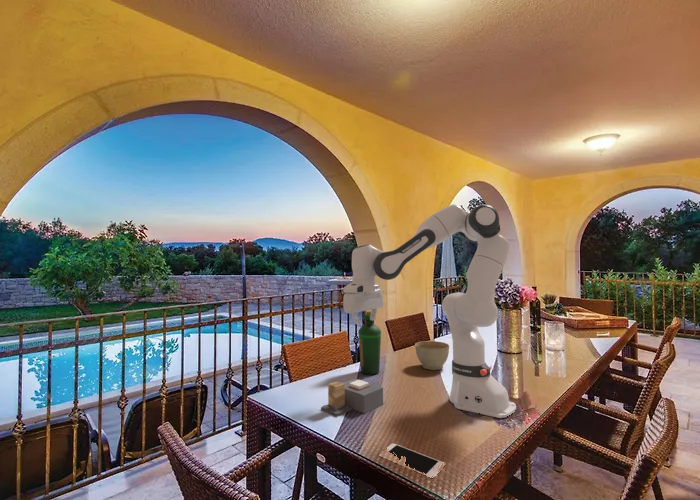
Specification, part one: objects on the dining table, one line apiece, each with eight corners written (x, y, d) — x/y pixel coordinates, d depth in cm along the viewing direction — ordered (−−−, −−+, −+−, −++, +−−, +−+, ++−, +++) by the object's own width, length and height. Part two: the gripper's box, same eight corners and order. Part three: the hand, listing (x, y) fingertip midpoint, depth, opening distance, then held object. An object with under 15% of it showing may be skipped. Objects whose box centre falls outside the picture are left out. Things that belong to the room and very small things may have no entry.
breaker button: (369, 396, 126) (368, 382, 126) (359, 400, 123) (359, 386, 123) (358, 393, 130) (358, 379, 130) (349, 397, 126) (349, 383, 126)
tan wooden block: (344, 407, 121) (344, 384, 121) (336, 411, 118) (336, 387, 118) (336, 404, 124) (336, 381, 124) (328, 407, 121) (328, 384, 121)
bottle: (369, 367, 168) (368, 309, 169) (386, 372, 161) (385, 311, 162) (353, 372, 161) (353, 311, 162) (370, 377, 153) (370, 313, 154)
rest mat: (351, 410, 120) (351, 407, 120) (337, 416, 115) (337, 414, 115) (335, 403, 126) (335, 401, 126) (321, 409, 121) (321, 407, 121)
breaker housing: (383, 404, 125) (382, 387, 125) (364, 413, 118) (364, 395, 118) (354, 394, 135) (354, 378, 135) (335, 402, 127) (335, 385, 128)
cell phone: (433, 481, 82) (432, 478, 82) (377, 457, 92) (376, 454, 92) (447, 466, 88) (447, 463, 88) (393, 444, 98) (392, 442, 98)
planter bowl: (446, 362, 175) (446, 340, 175) (452, 373, 159) (452, 349, 159) (413, 362, 176) (413, 340, 177) (416, 372, 160) (416, 348, 161)
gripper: (374, 284, 146) (375, 317, 146) (340, 288, 131) (341, 325, 131) (386, 284, 142) (387, 318, 141) (352, 289, 127) (353, 327, 126)
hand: (365, 321), depth 136 cm, fingers open, 8 cm apart
